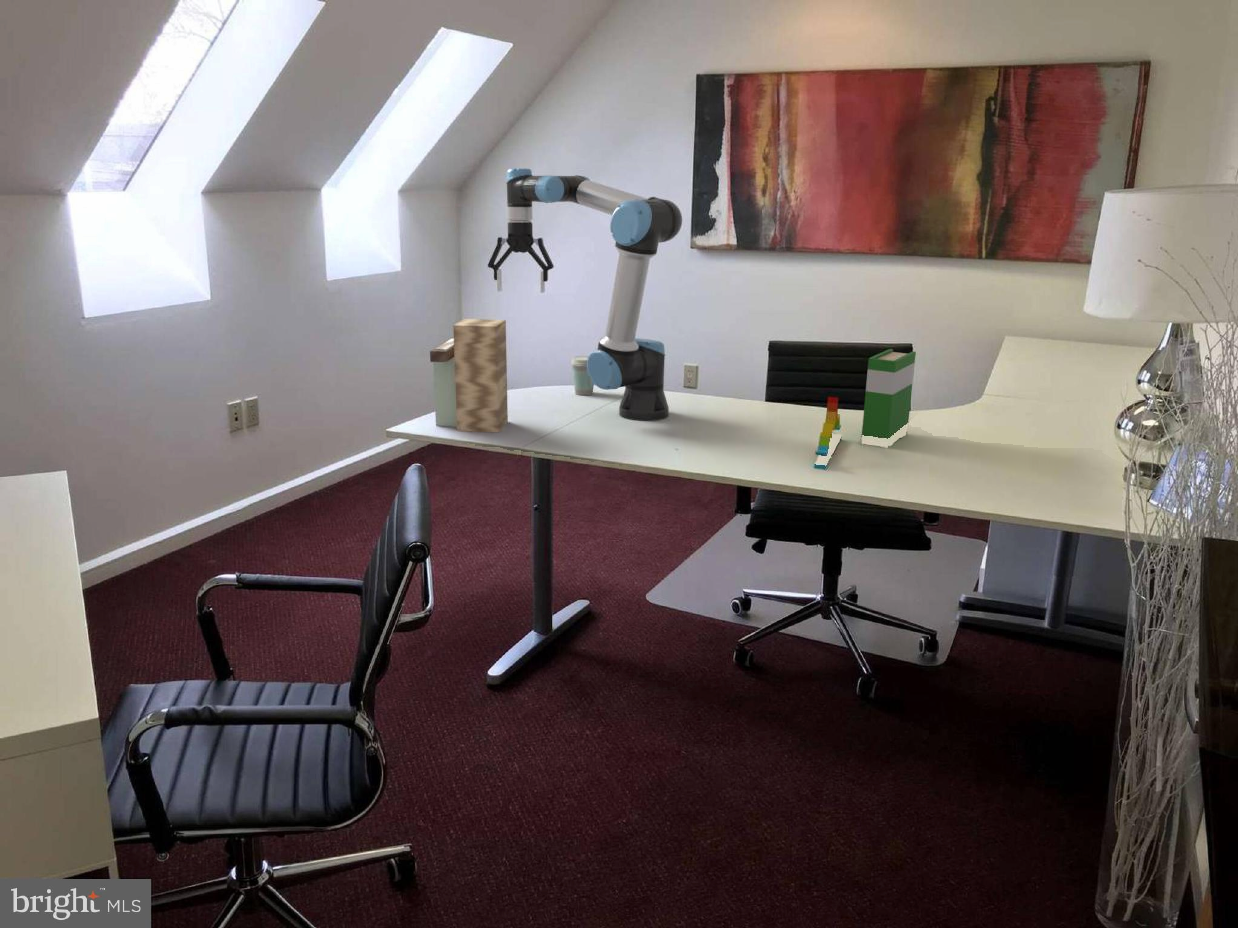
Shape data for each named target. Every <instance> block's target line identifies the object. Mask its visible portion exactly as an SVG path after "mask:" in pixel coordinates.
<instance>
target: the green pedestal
mask: <svg viewBox="0 0 1238 928" xmlns="http://www.w3.org/2000/svg"><path fill="white" fill-rule="evenodd" d="M432 365H433V366H432V368H433V386H434V387H433V388H434V410H435V411H434V412H435V415H434V416H435V426H441V427H457V413H456V386H455V359H454V357H453V358H452V359H450V360H449V361H447V362H432Z"/></svg>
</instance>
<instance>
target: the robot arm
mask: <svg viewBox="0 0 1238 928" xmlns="http://www.w3.org/2000/svg"><path fill="white" fill-rule="evenodd" d="M532 172H533V171H532V169H530V168H516V167H515V168H514V167H513V168H508V170H506V181H505V183H506V203H507V204H506V205H507V206H506V207H507V208H506V209H507V217H506V218H507V220H508V222H507V237H502V236H499V237H498V238H497V240H496V245H495V248H494V250H493V253H492V254H491V257H490V259H489V261H488V264H487V268H490V269H492V270H493V279H494V281H496V283H497V292H502V291H503V286H502V285H503V284H502V283H503V281H502V269H500V267H501V266H502V265H503V264H504V262H505V261H506V260H507V259H508V257H509V256H510V255H511V254H512V253H523V254H525V253H528V254H529V255H530V256H531V257H532V259H533V260H534V261H535V262H536V263H537V265H538V266H539V267H540V268H541V269H542V270H540V294H541V293H542V294H543V293H545V291H546V288H545V287H546V286H545V285H546V284H545V282H548V281H549V271H550V270H552V269H554V267H555V265H554V263H553V262H552V259H551V257H550V255H549V253H548V251H547V249H546V247H545V245H544V239H543V237H539V238H534V236H533V222H531V221H533V203H534V202H536V203H546V204H550V203H551V204H552V203H560V202H561V203H563V202H569V203H574V204H577V205H580V206H585V207H586V208H590V209H592V210H596V211H599V212H601V213H604V214H608V215H610V216H611V218H610V224H609V228H610V229H609V230H610V233H612V235H611V237H612V239H613V241H615V245H614V247H615V249H616V250H617V252H618V261H617V264H616V265H617V266H616V270H615V271H616V272H615V277H614V282H613V289H612V294H611V295H612V296H611V300H610V306H609V312H608V317H607V323H606V330H605V334H604V335H603V336H602V337H600V338H599V340H598V344H597V349H596V350H594V351H593V352H592V353H590V354H589V355H588V356H589V357H588V360H587V371H588V374H589V376H590V377H591V380H592V382H593V383H594V386H596V387H597V388H599V389H600V390H601V389H602V390H607V391H608V390H617V389H619V388H624V393H623V395H622V399H621V400H620V403H619V409H618V414H619V416H621V417H623V418H624V419H630V420H636V421H654V420H663V419H665V418H667V417H669V410H670V409H669V405H668V400H667V397H666V393H665V391H664V388H665V387H664V386H665V385H664V384H665V359H666V358H665V357H666V354H665V344H664V343H663V342H662V341H659V340H656V339H648V338H636V334H637V330H638V324H639V321H640V320H639V319H640V314H641V308H642V303H643V298H644V297H643V296H644V292H645V286H646V282H647V276H648V271H649V265H650V262H651V261H650V260H651V258H653V257H654V256H656V255H657V253H658V248H659V244H661V243H665V242H668V241H671V240H673V239H674V238H675V237H677V235H678V234H679V233H680V230H681V228H682V225H683V216H682V212H681V210H680V208H679V206H678V205H677V204H676V203H674V202H673V201H671V200H668V199H663V198H659V197H656V196H650V197H648V198H647V197H644V196H641V195H636V194H634V193H630V192H627V191H624V190H621V189H618V188H614V187H611V186H607V185H605V184H602V183H598V182H595V181H592V180H590V179H589V177H588V176H584V175H583V176H582V175H547V174H546V175H533V173H532ZM505 244H507V245H508V246H509V247H508V248H507V249H506V251H505V252H504V253H503V254H502V256H501V257H500V258H499V260H497V258H498V256H499V254H500V252H501V250H502V248H503V245H505ZM534 244H535V245H536V246H538V248H539V251H540V253H541V255H542V258H544V260H542V258H541V257H540V256H539V255H538V254H537V252H536V251H535V249H534V248H533V245H534ZM496 260H497V262H496ZM544 261H545V262H544Z"/></svg>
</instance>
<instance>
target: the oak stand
mask: <svg viewBox="0 0 1238 928" xmlns="http://www.w3.org/2000/svg"><path fill="white" fill-rule="evenodd" d="M506 323H507V321H506V319H487V318H485V319H482V318H480V319H479V318H464V319H462V320H460V321H458V322H456V323H455V324H453V325H452V326H453V328H452V329H453V330H452V331H453V338H454V359H455V386H456V413H457V426H456V430H457V432H458V431H459V432H478V433H479V432H480V433H481V432H482V433H500V431H502V429H503V428H504V427H505V425H506V424H507V423H508V421H509V418H508V416H509V415H508V413H509V412H508V409H509V408H508V374H507V373H508V372H507V371H508V368H507V367H508V364H507V329H506V328H507V324H506Z"/></svg>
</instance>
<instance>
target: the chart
mask: <svg viewBox="0 0 1238 928" xmlns="http://www.w3.org/2000/svg"><path fill="white" fill-rule="evenodd" d="M825 412H826V415H825V420H824V421H825V422H823V425H822V429H821V430H822V431H821V432H820V433H819V441H818V448H817V450H816V451H815V452H814V453H815V455H816V456H818V455H821V456H827V454H828V449H829V442H830V438H832V433H834V431H840V430H841V427H842V425H841V424H840V423H841V415H840V414H839V397H833V396H828V397H827V405H826V411H825ZM831 457H832V458H830V459H829V461H828V463H827V465H826V466H825V465H816V464H814V463H813V469H818V470H827V469H828V466H829V465H830V462H831V461H832V459H833V458H834V455H831Z"/></svg>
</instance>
